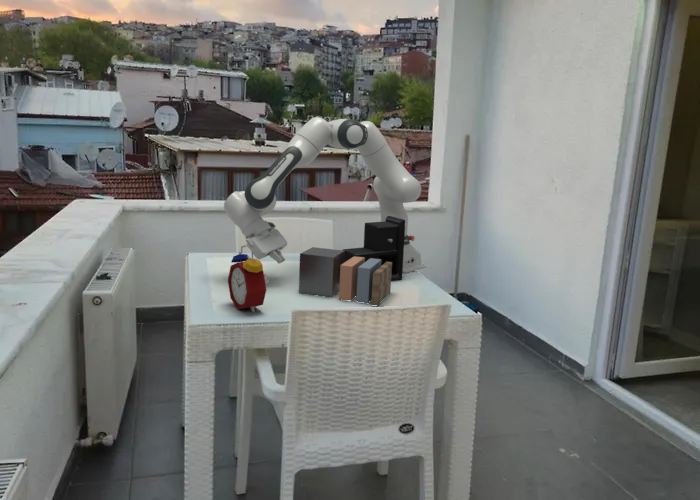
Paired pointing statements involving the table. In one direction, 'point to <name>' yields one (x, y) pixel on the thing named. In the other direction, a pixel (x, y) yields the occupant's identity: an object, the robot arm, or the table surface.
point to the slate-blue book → (366, 279)
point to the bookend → (383, 244)
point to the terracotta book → (349, 278)
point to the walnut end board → (381, 283)
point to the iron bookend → (320, 271)
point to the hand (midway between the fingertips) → (282, 261)
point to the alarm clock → (247, 281)
